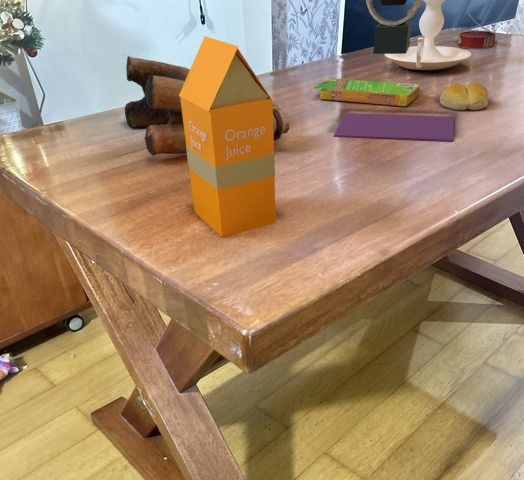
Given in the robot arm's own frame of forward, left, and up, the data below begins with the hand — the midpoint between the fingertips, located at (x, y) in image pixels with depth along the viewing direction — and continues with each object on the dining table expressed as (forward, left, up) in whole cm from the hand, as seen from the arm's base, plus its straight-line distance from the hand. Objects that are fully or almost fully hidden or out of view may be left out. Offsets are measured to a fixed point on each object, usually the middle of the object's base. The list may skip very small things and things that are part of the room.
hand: (395, 0), depth 71 cm
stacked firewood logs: (+32, -9, -21) cm, 40 cm away
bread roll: (-13, -34, -21) cm, 42 cm away
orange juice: (+16, +24, -21) cm, 36 cm away
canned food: (-17, -100, -21) cm, 103 cm away
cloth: (-1, -18, -21) cm, 28 cm away
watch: (0, 0, -6) cm, 6 cm away
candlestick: (-4, -67, -21) cm, 70 cm away
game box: (+7, -38, -21) cm, 44 cm away
